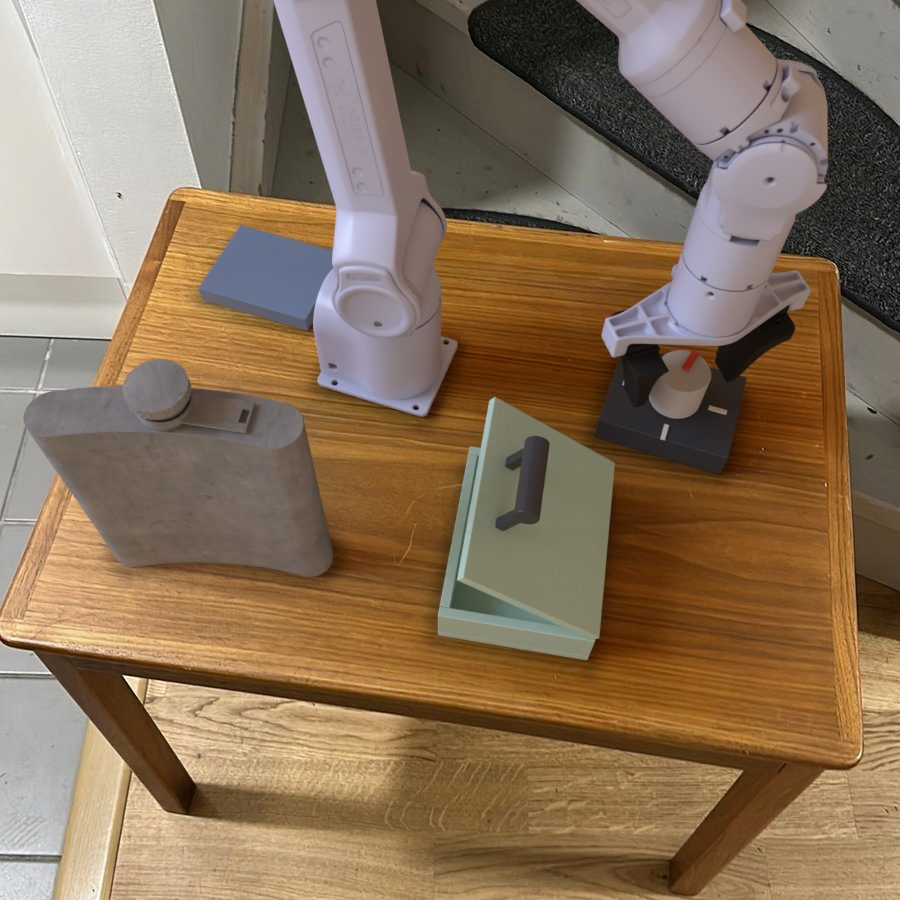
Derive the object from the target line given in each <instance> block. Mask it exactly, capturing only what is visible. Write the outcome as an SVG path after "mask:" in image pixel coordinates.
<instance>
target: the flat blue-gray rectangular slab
mask: <svg viewBox="0 0 900 900" xmlns="http://www.w3.org/2000/svg"><path fill="white" fill-rule="evenodd" d="M332 253H333V249H329V248H325V247H322V246H318V245H315V244H311V243H308V242H303V241H301V240H297V239H293V238H290V237H285V236H282V235H279V234H275V233H272V232H267V231H265V230H261V229H257V228H254V227H250V226H246V225H243V224H240V225H239V226H238V228H237V229H236V231H235V232H234V233H233V235H232V237H231V238H230V240H229V241H228V242H227V244H226V246H225V247H224V249H223V250H222V251H221V252H220V255H219V256H218V258H217V259H216V261H215V262H214V264H213V265H212V267H211V268H210V270H209V271H208V272H207V274H206V276H205V277H204V279H203V280H202V282H201V283H200V285H199V286H198V292H199V295H200V298H201V300H202V301H204V302H208V303H212V304H214V305H219V306H222V307H225V308H229V309H232V310H235V311H239V312H242V313H245V314H249V315H252V316H255V317H259V318H261V319H266V320H269V321H273V322H276V323H278V324H279V323H280V324H283V325H286V326H290V327H293V328H296V329H300V330H302V331H309V330H310V328H311V326H312V325H313V317H314V309H315V304H316V300H317V296H318V293H319V291H320V288H321V286H322V284H323V282H324V280H325V278H326V276H327V275H328V274H329V272H330V271H331V270H332V269H333V265H332Z"/></svg>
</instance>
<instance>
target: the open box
mask: <svg viewBox="0 0 900 900" xmlns="http://www.w3.org/2000/svg"><path fill="white" fill-rule="evenodd" d="M480 449H481V447H478V446H471V445H470V446H469V448H468V453H467V458H466V463H465V469H464V475H463V479H462V485H461V489H460V490H461V492H460V497H459V500H458V506H457V512H456V517H455V521H454V527H453V532H452V539H451V542H450V543H451V544H450V549H449V553H448V559H447V565H446V570H445V575H444V580H443V586H442V591H441V597H440V600H439V601H440V602H439V608H438V611H437V612H438V613H437V636H440V637H445V638H450V639H457V640H464V641H469V642H476V643H481V644H488V645H493V646H499V647H505V648H511V649H517V650H522V651H529V652H533V653H534V652H535V653H542V654H547V655H553V656H559V657H565V658H570V659H577V660H583V661H588V660H589V657H590V655H591V652H592V650H593V647H594V645H595V643H596V639H595V640H591V639H589V638H587V637H584V636H582V635H580V634H578V633H575V632H573V631H571V630H569V629H566V628H564V627H562V626H559V625H557V624H555V623H553V622H550V621H548V620H546V619H544V618H541V617H539V616H537V615H535V614H532V613H530V612H528V611H526V610H523V609H521V608H519V607H516V606H514V605H512V604H510V603H507V602H505V601H503V600H501V599H498V598H496V597H494V596H492V595H489V594H487V593H485V592H482V591H480V590H478V589H476V588H473V587H471V586H469V585H467V584H464V583H462V582H460V581H458V580H457V577H458V571H459V566H460V560H461V555H462V549H463V544H464V538H465V533H466V527H467V522H468V516H469V510H470V505H471V499H472V494H473V488H474V483H475V477H476V472H477V466H478V461H479V455H480Z"/></svg>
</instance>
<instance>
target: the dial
mask: <svg viewBox="0 0 900 900" xmlns="http://www.w3.org/2000/svg"><path fill="white" fill-rule="evenodd" d="M664 354H665V355H664V356H663V357H662V359H663V361H664V363H665V365H666V366H667V368H668V370H669V372H667V373H665V374H663V375H662V376H661V377H660V378H659V379H658V380H657V381H656V383H655V384H654V386H653V387H652V390H651V392H650V395H649V400H650V403H651V405H652V406H653V407H654V409H655V410H656V411H657V412H659V413H660V414H662V415H664V416H666V417H669V418H674V419H681V418H686V417H689V416H691V415H693V414H694V413H695V412H696V411H697V410H698V408H699V406H700V404H701V401H702V399H703V397H704V394H705V392H706V390H707V387H708V385H709V383H710V380H711V370H710V367H711V366H710V365H709V363H708V362H707V360H706V359H704V357H702V356H701V355H700V351H697V350H695V349H692V350H685V349H676V350H672V351H669V352H666V353H664Z"/></svg>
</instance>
